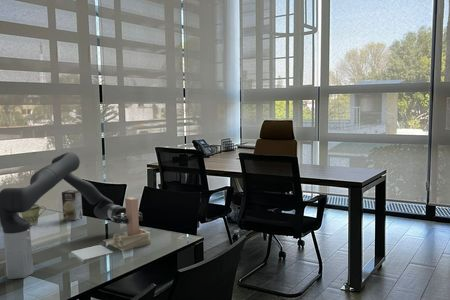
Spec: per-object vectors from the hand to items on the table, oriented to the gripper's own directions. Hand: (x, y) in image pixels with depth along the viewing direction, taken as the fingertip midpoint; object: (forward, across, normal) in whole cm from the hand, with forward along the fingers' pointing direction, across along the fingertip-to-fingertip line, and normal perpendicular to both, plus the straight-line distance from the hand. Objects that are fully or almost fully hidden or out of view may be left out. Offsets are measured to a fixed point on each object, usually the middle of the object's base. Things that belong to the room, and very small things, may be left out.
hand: (134, 220), depth 193 cm
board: (-2, 0, +10) cm, 11 cm away
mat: (-2, -20, +12) cm, 23 cm away
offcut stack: (-2, -6, +10) cm, 12 cm away
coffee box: (-72, -2, +12) cm, 74 cm away
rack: (-5, -2, +12) cm, 13 cm away
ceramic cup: (-78, -22, +12) cm, 82 cm away
